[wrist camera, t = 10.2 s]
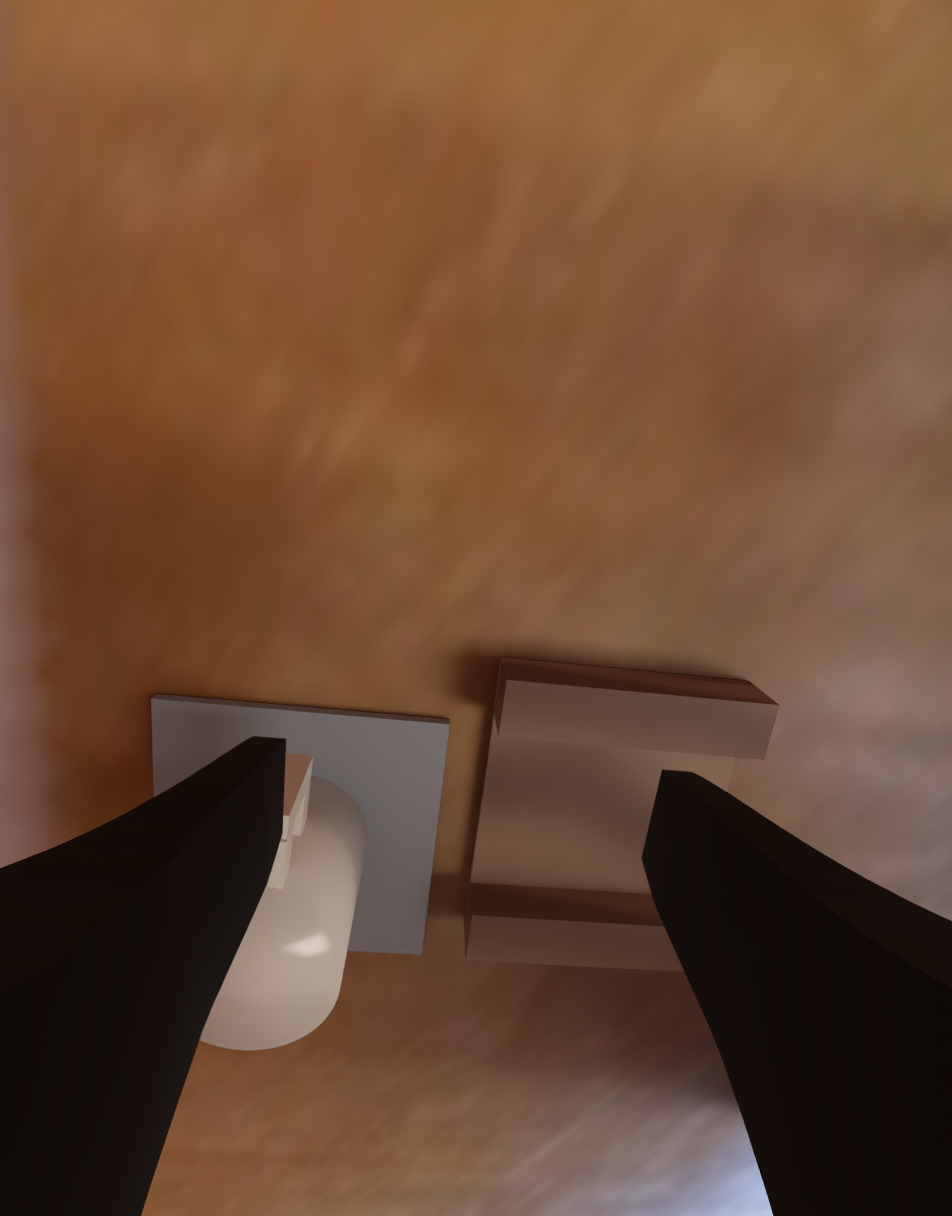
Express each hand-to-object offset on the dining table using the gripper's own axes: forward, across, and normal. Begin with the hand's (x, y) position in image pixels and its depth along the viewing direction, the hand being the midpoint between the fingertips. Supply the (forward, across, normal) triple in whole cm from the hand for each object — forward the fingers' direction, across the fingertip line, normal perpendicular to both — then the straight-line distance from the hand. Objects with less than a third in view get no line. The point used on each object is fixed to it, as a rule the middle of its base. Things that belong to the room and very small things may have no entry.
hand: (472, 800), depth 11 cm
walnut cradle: (+9, -6, +6) cm, 13 cm away
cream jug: (+9, +5, +7) cm, 12 cm away
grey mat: (+9, +5, +8) cm, 13 cm away
